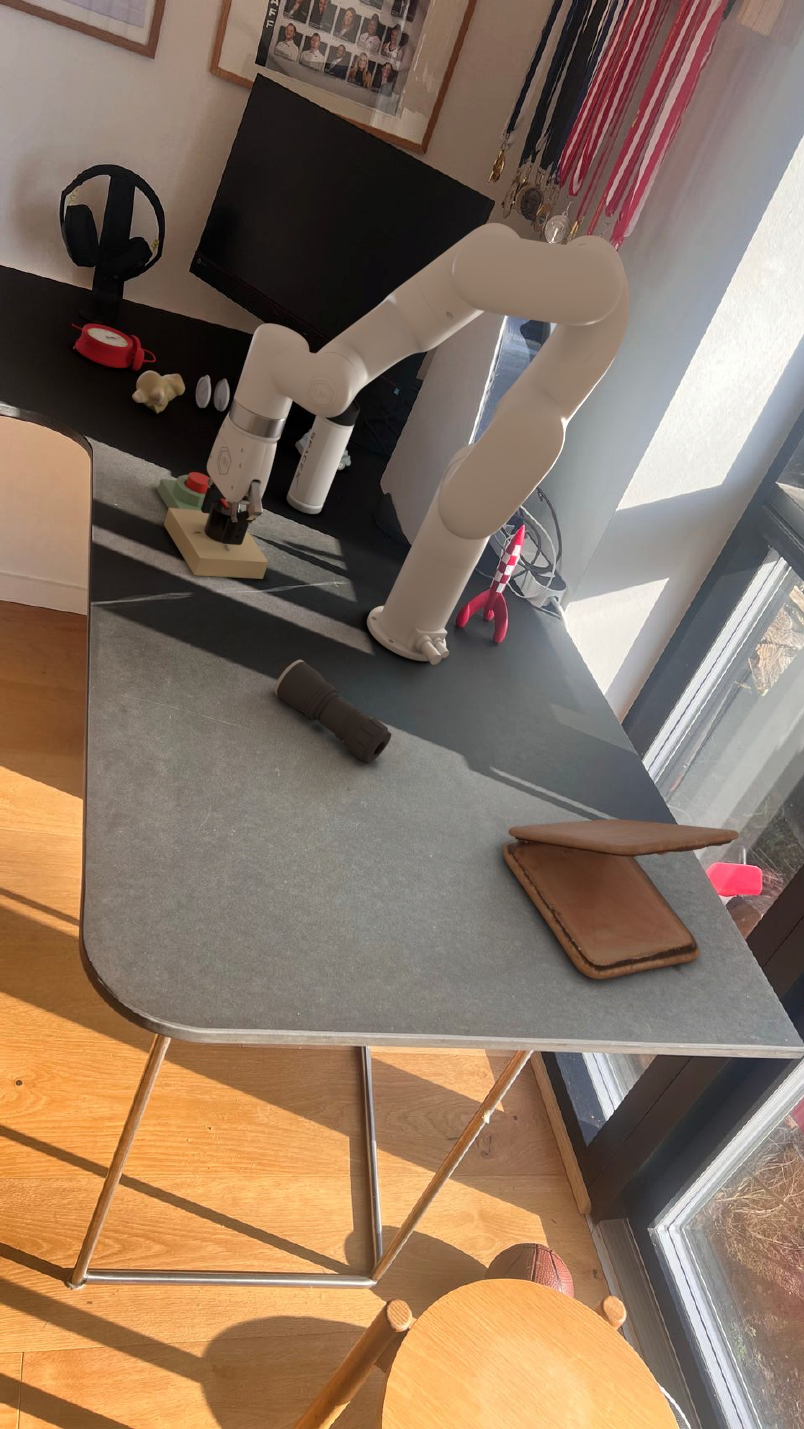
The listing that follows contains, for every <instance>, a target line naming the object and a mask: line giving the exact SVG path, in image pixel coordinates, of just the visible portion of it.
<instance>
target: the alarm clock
mask: <svg viewBox="0 0 804 1429" xmlns="http://www.w3.org/2000/svg"><path fill="white" fill-rule="evenodd" d="M71 326H72V327H74V328H76V329H77V330H80V331H81V334H80V336H79V338H78V339H75V344H74V345H73V347H72V349H73V350H76V351H77V352H78V353H80V354H81V355H82V356H83V357H85V358H86V359H88V360H90V361H92V362H94V363H97V364H99V365H103V366H105V367H109V368H110V367H111V368H116V369H127V368H129V367H131V366H132V367H131V371H135V372H136V371H139V370H140V369H141V368H142V366H143V363H155V362H156V356H155V355H154V353H153V352H151V351H150V350H147V349H145V348H142V344H141V341H140V339H139V338H138V337H137V336H136V335H132V334H130V335H126V334H125V333H124V332H122V331H120V330H117V329H116V328H113V327H110V326H106V325H105V324H104V325H103V324H98V323H86V324H84V325H83V327H80V326H77V325H75V323H72V324H71ZM145 352H146V353H148V354H150V355H151V356H152V358H153V360H147V359H145Z"/></svg>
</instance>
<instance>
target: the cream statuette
mask: <svg viewBox="0 0 804 1429" xmlns="http://www.w3.org/2000/svg"><path fill="white" fill-rule="evenodd" d="M135 387H136V391H134V393H133V394H132V396H131V398H132V400H133V401H134V402H135V403H138V404H144V405H145V406H146V407H147V408H148V409H150V410H152V411H153V412H154V413H156V414H158V415H159V413H161V412H163V411H164V410H165V409H166V408H167V406H168V404H169V402H171V401H172V400H173V399H175V398H176V397H178V396H182V395H183V394H184V393H185V390H186V387H185V383H184V381H183V378H182V376H181V374H179V373H172V374H164V375H163V376H162V375H160V373H158V372H157V371H154V370H147V371H144V372H143V373H141V374H140V376H139V377H138V378H137V380H136V384H135Z"/></svg>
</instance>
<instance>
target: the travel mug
mask: <svg viewBox="0 0 804 1429" xmlns="http://www.w3.org/2000/svg"><path fill="white" fill-rule="evenodd" d="M360 411H361V406H360V404H359V402H358V401H357V400H356V399H355V398H354V399H353V400H352V402H351V403H350V405H349V406H348V408H347V409H346V410H345V411H344V412H342V413H341V414H340V415H337V416H334V417H329V418H328V417H320V416H317V415H315V418H314V421H313V424H312V427H311V428H310V429H311V432H310V435H309V438H308V440H307V443H306V446H305V449H304V451H303V454H302V455H301V456H300V459H299V463H298V465H297V468H296V471H295V473H294V476H293V479H292V481H291V484H290V487H289V490H288V492H287V495H286V501H287V503H288V504H289V505H290V506H291V507H292V508H294V509H295V510H297V511H299V512H301V513H304V514H308V515H316V514H317V515H318V514H319V513H320V512H322V509H323V507H324V504H325V502H326V498H327V496H328V493H329V491H330V489H331V485H332V484H333V481H334V478H335V477H336V476H335V475H336V474H337V473H336V472H337V470H338V469H337V468H338V465H339V463H340V460H341V458H342V455H343V453H344V450H345V448H346V449H347V445H348V443H349V440H350V437H351V435H352V432H353V429H354V427H355V424H356V420H357V418H358V416H359V414H360Z"/></svg>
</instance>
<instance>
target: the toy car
mask: <svg viewBox="0 0 804 1429" xmlns="http://www.w3.org/2000/svg"><path fill="white" fill-rule="evenodd" d="M311 429H312V428H309V430H308V432H306V433H304V435H303V436H302V437H301V439H299V440H298V441H296V442H295V445H294V446H295V448H296V450H298V453H299V454H300V455H301V456H302V454H303V451H304V449H305V446H306V443H307V440H308V438H309V435H310V432H311ZM351 463H352V462H351V456H350V455H348V450H347V447H346V448H345V450H344V453H343V455H342V458H341V460H340V463H339V465H338V468H337V470H338V471H341V470H342V471H343V469H345V467H348V466H349V467H350V466H351Z"/></svg>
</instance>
